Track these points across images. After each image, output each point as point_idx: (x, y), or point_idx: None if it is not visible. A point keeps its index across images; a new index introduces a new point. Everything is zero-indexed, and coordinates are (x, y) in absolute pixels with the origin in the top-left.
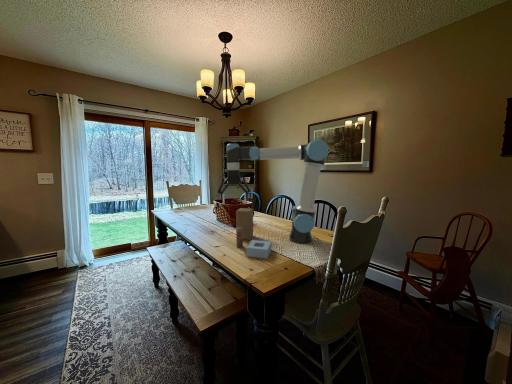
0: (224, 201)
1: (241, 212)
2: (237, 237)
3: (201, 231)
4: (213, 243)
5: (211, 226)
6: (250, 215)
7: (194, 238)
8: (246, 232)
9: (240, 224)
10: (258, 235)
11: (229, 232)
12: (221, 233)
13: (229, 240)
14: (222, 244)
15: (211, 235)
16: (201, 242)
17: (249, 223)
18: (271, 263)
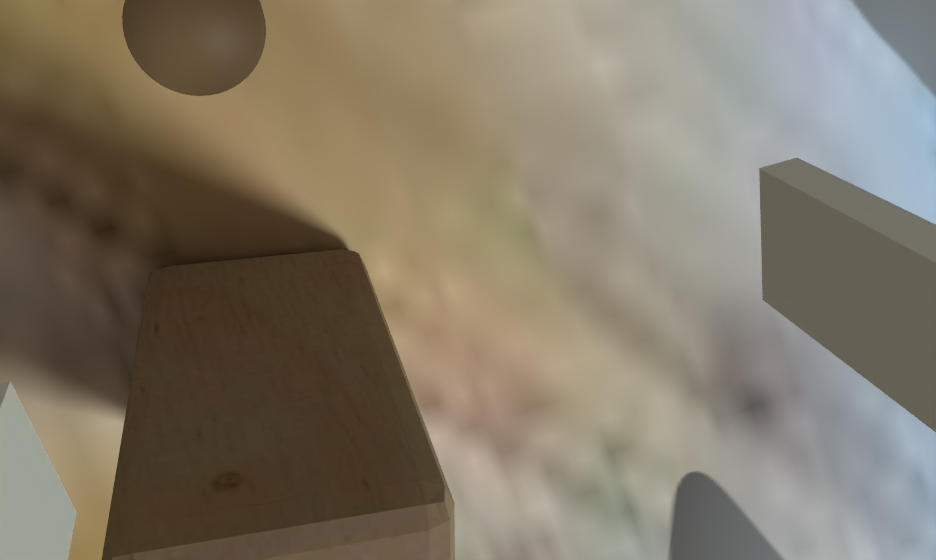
0: (810, 303)
1: (316, 498)
2: None
3: None
4: (614, 19)
5: (808, 543)
6: (109, 515)
7: (894, 128)
8: (203, 303)
9: (316, 353)
10: (103, 459)
11: (536, 437)
12: (624, 376)
13: (439, 177)
14: (482, 12)
15: (724, 278)
16: (775, 17)
17: (137, 393)
18: None
